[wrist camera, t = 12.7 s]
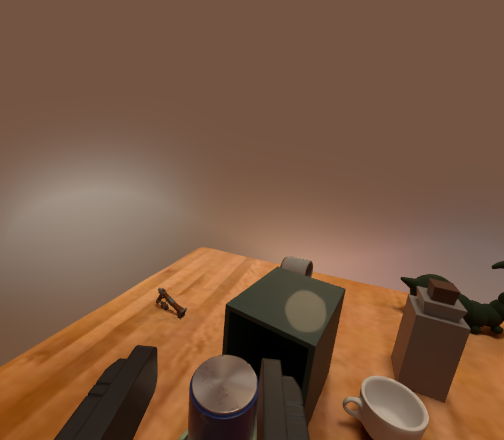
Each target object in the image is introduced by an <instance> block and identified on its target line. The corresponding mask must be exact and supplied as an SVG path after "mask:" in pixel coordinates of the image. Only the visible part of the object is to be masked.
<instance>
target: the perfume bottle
mask: <svg viewBox="0 0 504 440" xmlns="http://www.w3.org/2000/svg"><path fill="white" fill-rule="evenodd" d="M459 295H460V292H459V290H458V289H457V288H456V287H455V286H454V284H453V283H448V282H444V281H439V280H435V279H430V278H429V282H428V288H424V287H420V286H417V296H413V295H409V294H408V298H407V301H406V305H405V309H404V312H403V316H402V320H401V323H400V327H399V330H398V334H397V338H396V341H395V345H394V349H393V352H392V356H391V358H392V364H393V369H394V375H395V380H396V381H397V382H399V383H401V384H403V385H404V386H406V387H407V388H409V389H410V390H412V391H415V392H418V393H420V394H423V395H426V396H428V397H431V398H434V399H436V400H439V401H442V402H444V403H445V400H446V397H447V394H448V391H449V389H450V386H451V383H452V380H453V377H454V375H455V372H456V369H457V366H458V363H459V361H460V358H461V355H462V352H463V350H464V347H465V344H466V341H467V338H468V336H469V333H470V330H471V329H470V328H469V326H468V325H467V323H466V322H465V321H464V319H463V317H464V316H465V314H466V313H467V310H466V309H465V308H464V306H463V305H462V304H461V302H460V301H459V300H458V297H459Z"/></svg>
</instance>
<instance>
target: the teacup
mask: <svg viewBox="0 0 504 440" xmlns="http://www.w3.org/2000/svg"><path fill="white" fill-rule="evenodd" d="M349 402H354V403H355V404H356V405H357V406H358V410H357V411H353V410H350V409H348V408H347V407H346V405H347V403H349ZM343 408H344V410H345V411H346V412H347V413H348V414H350V415H351V416H353V417H355V418H356V419H358V420H359V421H361V422H362V424H363V426H364V428H365V429H366V431H367V432H368V434H369V435H370V436H371V438H372V439H373V440H420V439H421V438H422V436H423V434H424V432H425V430H426V428H427V426H428V422H429V416H428V412H427V409H426V407H425V406H424V404H423V403H422V401H421V400H420V399H419V398H418V396H417V395H416V394H415V393H413V392H412V391H411V390H410V389H409V388H407V387H406V386H404V385H403V384H401V383H399V382H397V381H395V380H393V379H391V378H388V377H384V376H370V377H368V378H366V379H365V380H364V381H363V383H362V386H361V390H360V397H359V398H357V397H347V398H346V399H345V400H344V401H343Z"/></svg>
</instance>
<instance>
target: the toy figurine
mask: <svg viewBox="0 0 504 440" xmlns="http://www.w3.org/2000/svg"><path fill="white" fill-rule="evenodd" d="M498 268H503V269H504V261H502V262H498V263H496V264H494V265H493V266H492V269H498ZM429 278H430V279H435V280H439V281H444V282H448V283H451V282H449V281H448V280H446V279H445V278H443V277H441V276H438V275H434V274H427V275H422V276H420V277H417V278H416V279H413V278H406V277H401V280H402V281H403V282H404V283H405V284H406V285H407V286H408V287H409V288H410V295H413V296H417V286H420V287H424V288H428V282H429ZM458 300H459V301H460V302H461V304H462V305H463V306H464V308H465V309H466V310H467V313H466V314H465V316H464V317H463V319H464V321H465V322H466V323H467V325H468V326H469V328H470V329H471V330H470V331H471V332H473V333H476V334H477V333H480V332H481V328H480V327H483V326H488V327H490V330H491V331H493V332H494V333H495V334H501V333H502V332H503V328H501V327H500V326H499V325H500V324H502V322H503V321H504V292H503V293H501V294H500V295H499V297H498V300H494V301H492V302H490V304H480V303H479V302H476V301H473V300H469V299H468V298H467V297H466V296H464V295H462V294H460V295H459V297H458Z"/></svg>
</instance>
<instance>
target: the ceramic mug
mask: <svg viewBox="0 0 504 440" xmlns="http://www.w3.org/2000/svg"><path fill="white" fill-rule="evenodd" d="M280 268H283V269H286V270H289V271H292V272H296V273H299V274H302V275H305V276H308V277H312V271H313V263H312V261H309V260H304V259H299V258H295V257H286V258H284V259H283V261H282V263H281V266H280Z"/></svg>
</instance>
